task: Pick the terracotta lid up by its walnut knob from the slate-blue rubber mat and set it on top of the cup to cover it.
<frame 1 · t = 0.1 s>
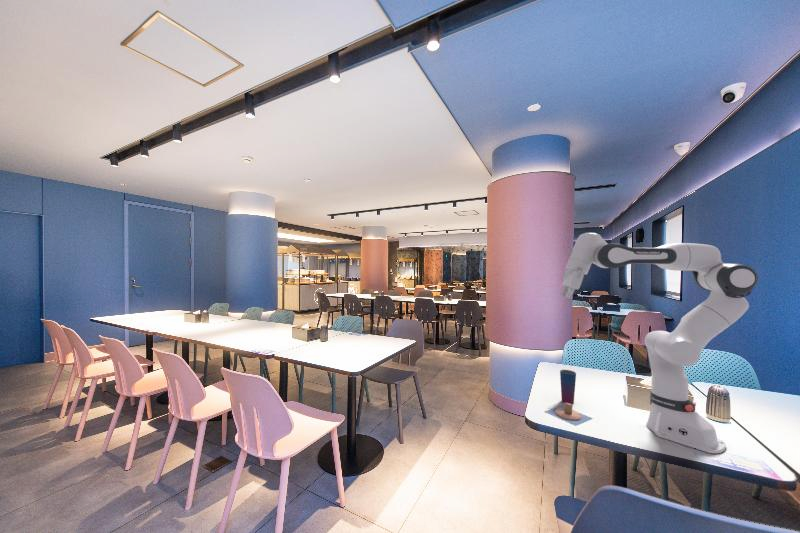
hand: (565, 297, 135), 52 cm above the table, tool tilted 20°, fingers open, 8 cm apart
mat: (568, 416, 133), on the table
cup: (567, 403, 147), on the table
lid: (568, 414, 133), resting on mat
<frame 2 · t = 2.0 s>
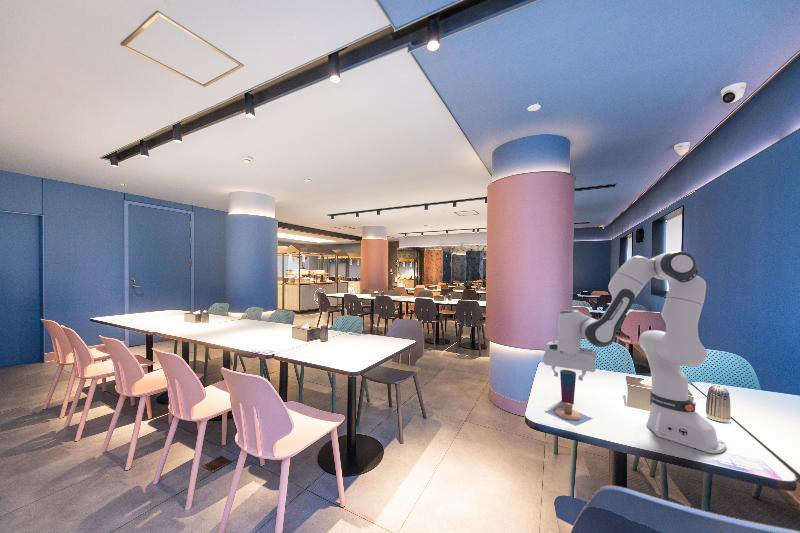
hand: (568, 378, 133), 17 cm above the table, tool pointing down, fingers open, 8 cm apart
nothing on the table moved.
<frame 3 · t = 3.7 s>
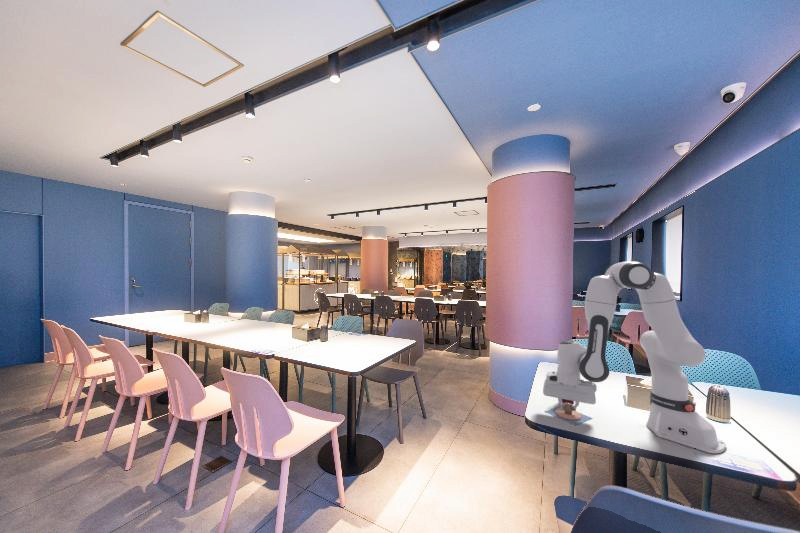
hand: (568, 409, 133), 3 cm above the table, tool pointing down, fingers closed on lid, 3 cm apart
lid: (568, 414, 133), point 1 cm above the table, touching gripper, mat
everything else where it was.
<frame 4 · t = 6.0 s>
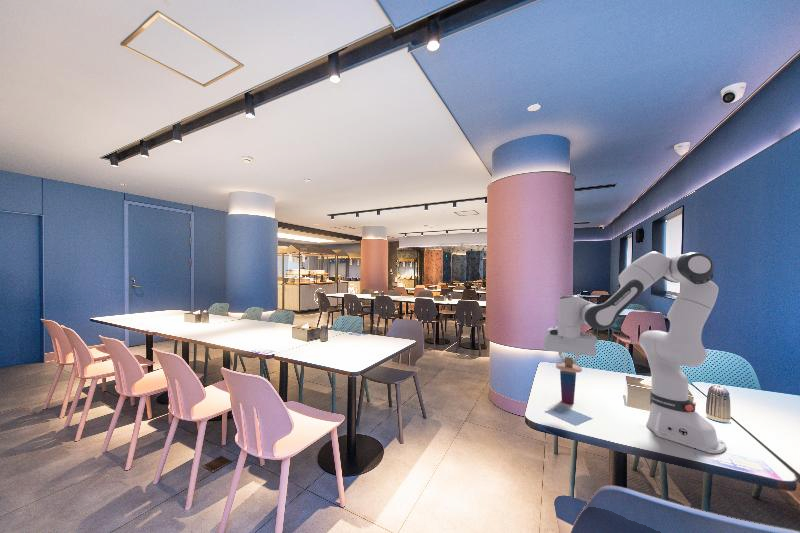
hand: (568, 363, 134), 23 cm above the table, tool pointing down, fingers closed on lid, 3 cm apart
lid: (568, 368, 134), point 21 cm above the table, touching gripper
everything else where it was.
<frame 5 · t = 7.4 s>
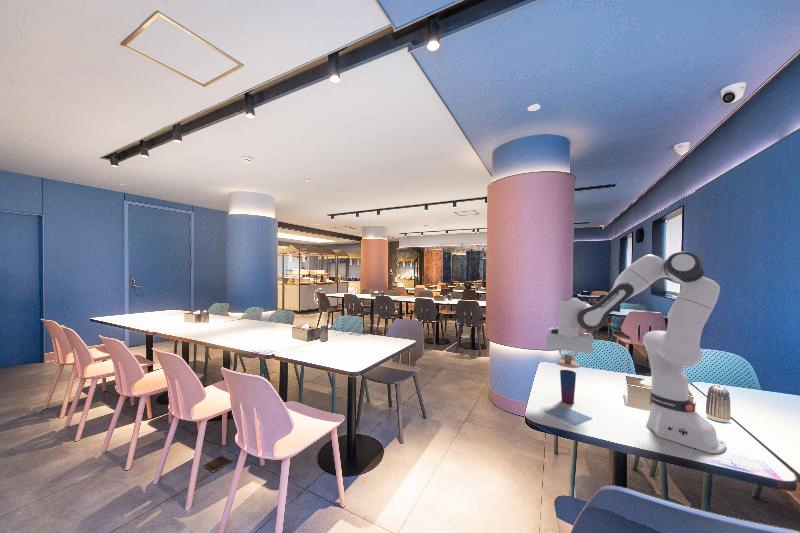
hand: (567, 359, 147), 21 cm above the table, tool pointing down, fingers closed on lid, 3 cm apart
lid: (567, 364, 147), point 18 cm above the table, touching gripper
everything else where it was.
when the fingers open (19 cm above the table, at t = 8.3 s): lid drops 2 cm, resting on cup.
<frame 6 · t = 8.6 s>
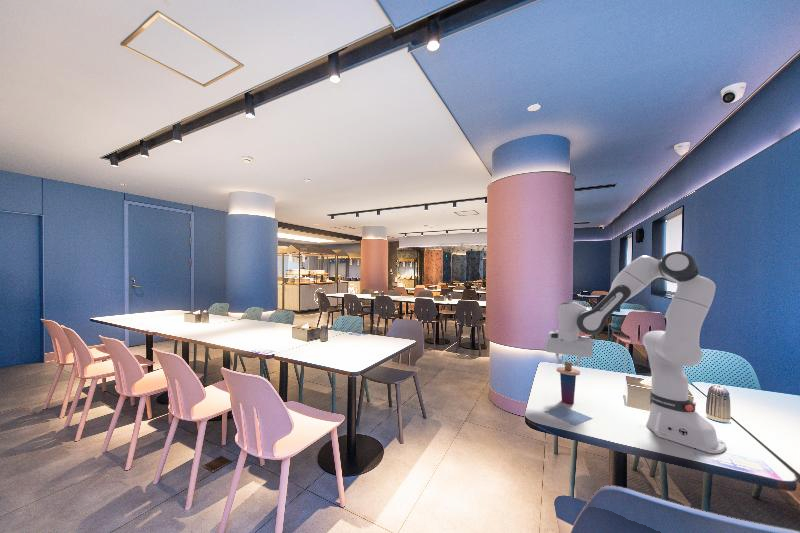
hand: (568, 363, 147), 19 cm above the table, tool pointing down, fingers open, 6 cm apart
cup: (567, 403, 147), on the table, touching lid
lid: (568, 371, 147), point 15 cm above the table, touching cup
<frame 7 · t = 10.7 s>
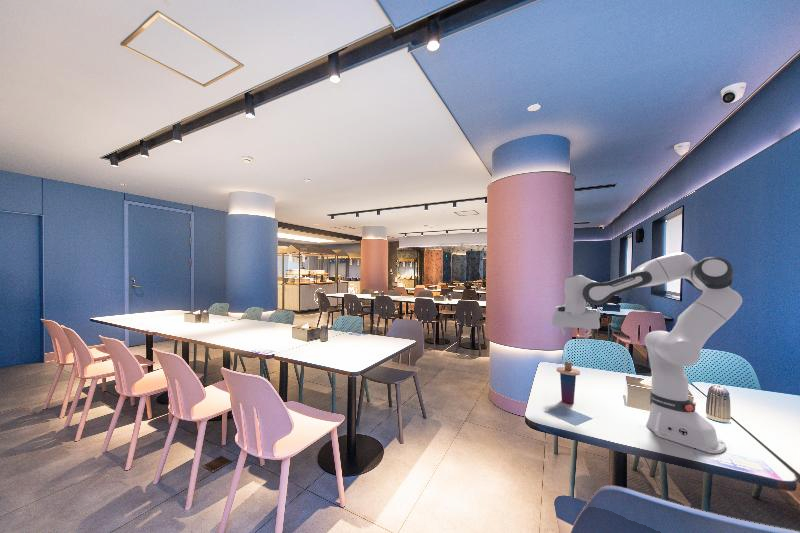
hand: (575, 336, 148), 32 cm above the table, tool pointing down, fingers open, 8 cm apart
nothing on the table moved.
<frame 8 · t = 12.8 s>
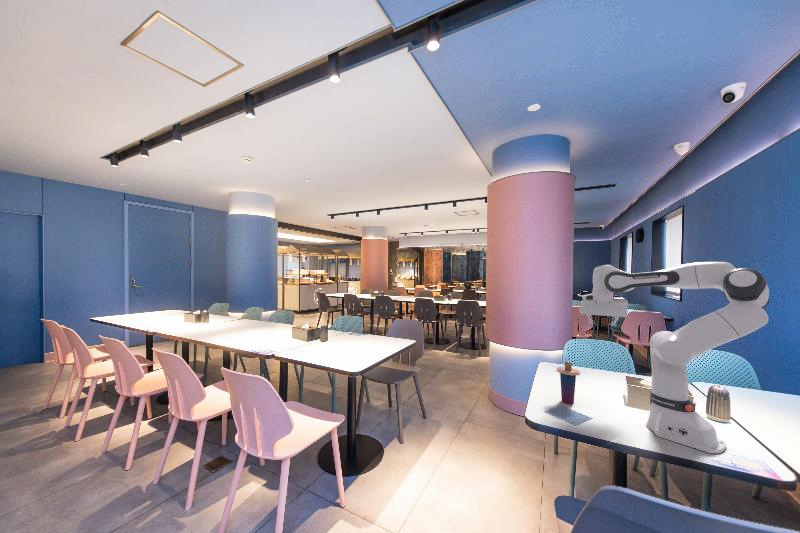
hand: (602, 324, 153), 37 cm above the table, tool pointing down, fingers open, 8 cm apart
nothing on the table moved.
at the end: lid 0.1 cm off-centre on the cup, point 15.2 cm above the cup's base; cup tilted 0°; lid tilted 0° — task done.
